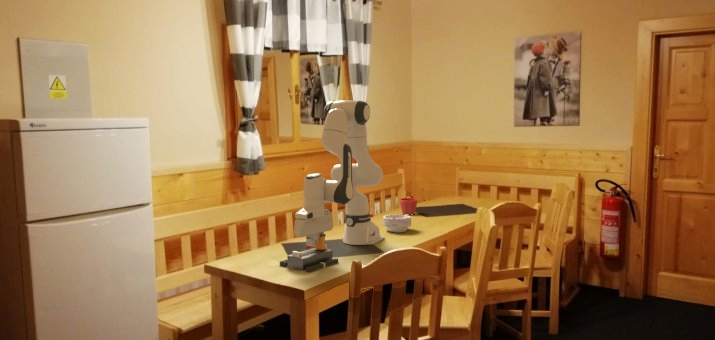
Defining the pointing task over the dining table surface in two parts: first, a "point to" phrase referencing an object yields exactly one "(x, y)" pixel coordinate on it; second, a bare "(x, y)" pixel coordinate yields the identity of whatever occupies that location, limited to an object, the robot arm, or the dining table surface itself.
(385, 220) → the paper bowls
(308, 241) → the ink box
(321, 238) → the orange upright block
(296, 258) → the grey machine base
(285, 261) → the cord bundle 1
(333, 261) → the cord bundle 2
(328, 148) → the robot arm
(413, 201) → the flower pot
